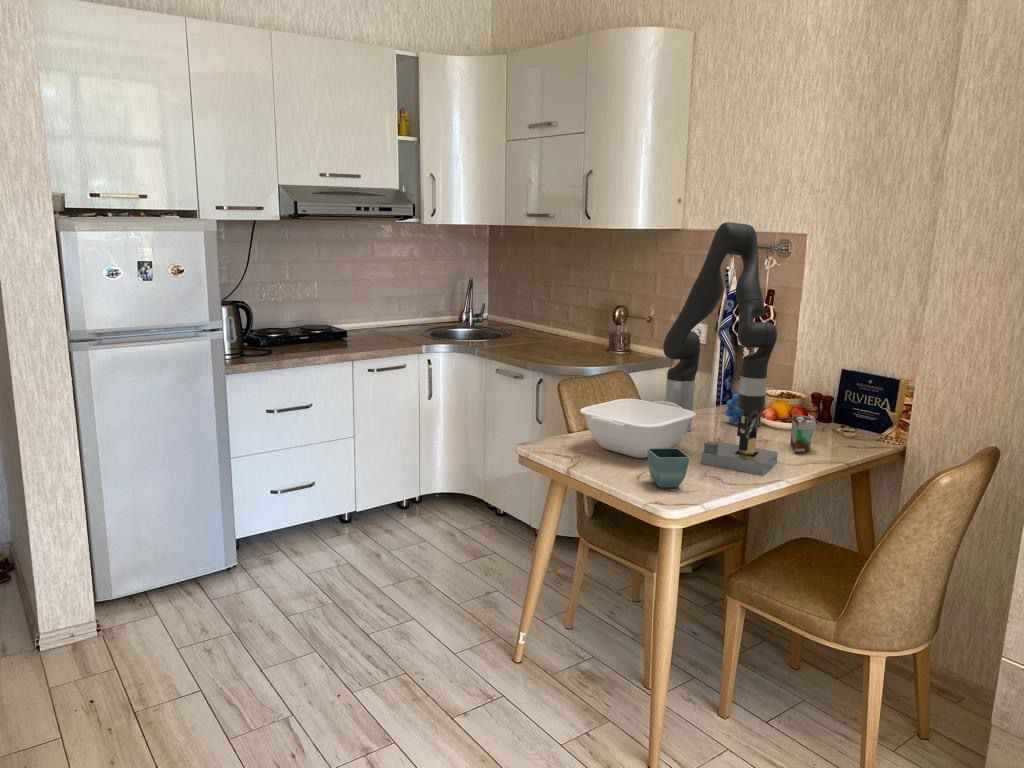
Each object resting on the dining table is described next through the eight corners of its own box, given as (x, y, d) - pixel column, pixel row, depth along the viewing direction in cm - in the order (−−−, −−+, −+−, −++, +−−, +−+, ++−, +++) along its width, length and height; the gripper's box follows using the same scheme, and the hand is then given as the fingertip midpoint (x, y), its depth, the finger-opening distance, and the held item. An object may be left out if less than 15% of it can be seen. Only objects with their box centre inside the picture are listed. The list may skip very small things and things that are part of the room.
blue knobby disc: (760, 427, 268) (763, 393, 265) (749, 430, 264) (752, 396, 261) (732, 420, 277) (734, 387, 274) (720, 423, 272) (723, 389, 270)
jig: (700, 463, 226) (702, 443, 225) (716, 452, 238) (718, 433, 236) (763, 475, 216) (765, 454, 215) (776, 463, 228) (778, 443, 227)
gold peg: (736, 465, 225) (738, 438, 224) (740, 461, 229) (742, 435, 227) (751, 468, 223) (753, 441, 221) (755, 464, 227) (758, 437, 225)
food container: (816, 456, 236) (820, 424, 234) (795, 455, 237) (798, 423, 235) (809, 445, 247) (812, 415, 245) (789, 444, 249) (792, 413, 247)
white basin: (631, 431, 260) (633, 394, 257) (706, 449, 240) (709, 409, 238) (563, 450, 236) (565, 410, 233) (640, 473, 216) (643, 429, 214)
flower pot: (675, 479, 212) (678, 447, 210) (688, 490, 203) (690, 457, 201) (644, 480, 210) (646, 448, 209) (655, 491, 202) (657, 458, 200)
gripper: (746, 386, 229) (741, 439, 233) (731, 394, 218) (726, 450, 221) (772, 389, 225) (767, 443, 229) (758, 398, 214) (753, 454, 217)
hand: (747, 446), depth 225 cm, fingers open, 8 cm apart
